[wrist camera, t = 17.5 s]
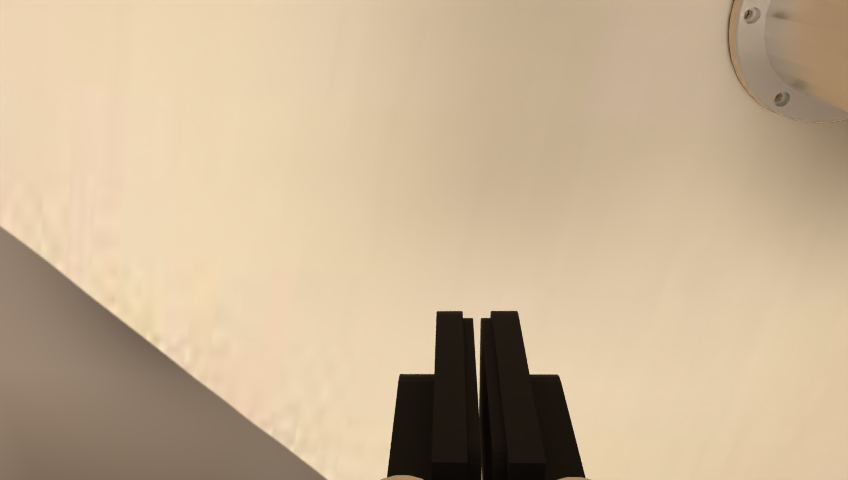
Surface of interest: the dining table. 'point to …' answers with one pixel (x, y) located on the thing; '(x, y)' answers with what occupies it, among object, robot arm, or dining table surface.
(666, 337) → the dining table surface
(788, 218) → the dining table surface
